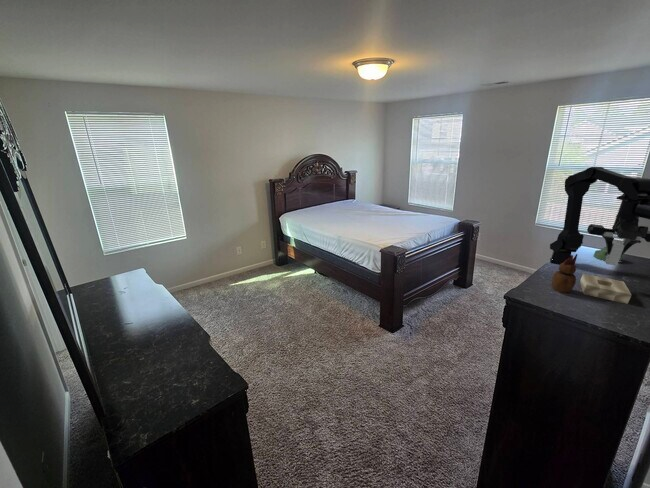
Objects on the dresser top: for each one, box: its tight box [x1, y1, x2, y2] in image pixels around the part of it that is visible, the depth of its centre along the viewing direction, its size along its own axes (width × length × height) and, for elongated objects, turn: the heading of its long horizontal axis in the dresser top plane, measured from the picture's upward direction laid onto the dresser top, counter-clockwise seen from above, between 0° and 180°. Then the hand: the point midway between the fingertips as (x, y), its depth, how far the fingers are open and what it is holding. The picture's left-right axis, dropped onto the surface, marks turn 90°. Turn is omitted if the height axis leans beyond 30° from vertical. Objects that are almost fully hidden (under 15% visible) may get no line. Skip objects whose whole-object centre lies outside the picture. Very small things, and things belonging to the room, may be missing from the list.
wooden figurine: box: [551, 253, 578, 294], centre depth 111 cm, size 7×6×15 cm
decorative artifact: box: [593, 246, 624, 262], centre depth 143 cm, size 10×7×10 cm
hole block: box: [579, 273, 632, 305], centre depth 112 cm, size 12×12×4 cm
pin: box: [604, 241, 625, 267], centre depth 113 cm, size 3×3×8 cm
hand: (614, 255), depth 113 cm, fingers closed on pin, 3 cm apart
